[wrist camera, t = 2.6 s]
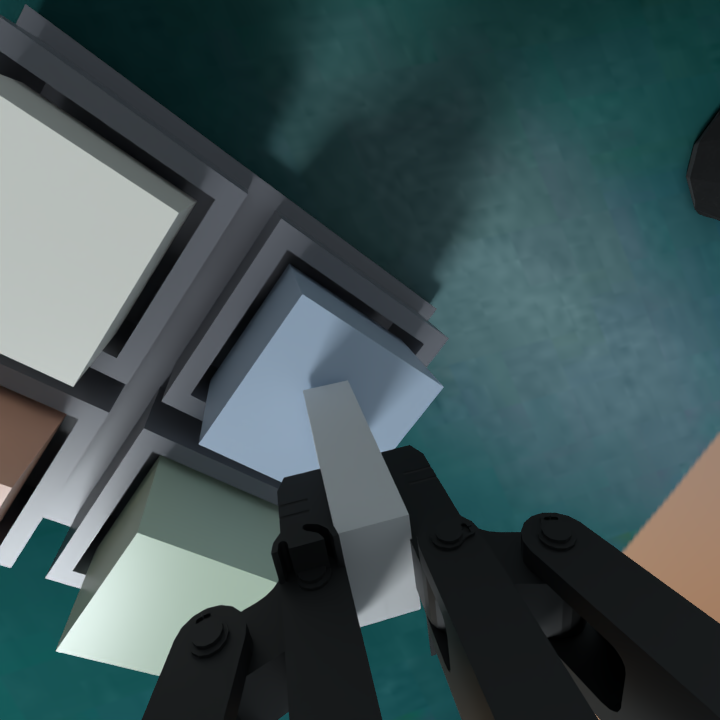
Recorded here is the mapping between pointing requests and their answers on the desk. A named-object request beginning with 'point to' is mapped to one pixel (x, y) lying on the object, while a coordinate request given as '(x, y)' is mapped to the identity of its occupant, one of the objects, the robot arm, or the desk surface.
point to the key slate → (308, 379)
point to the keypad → (168, 308)
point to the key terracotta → (22, 440)
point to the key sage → (171, 566)
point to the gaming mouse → (706, 171)
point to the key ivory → (72, 234)
